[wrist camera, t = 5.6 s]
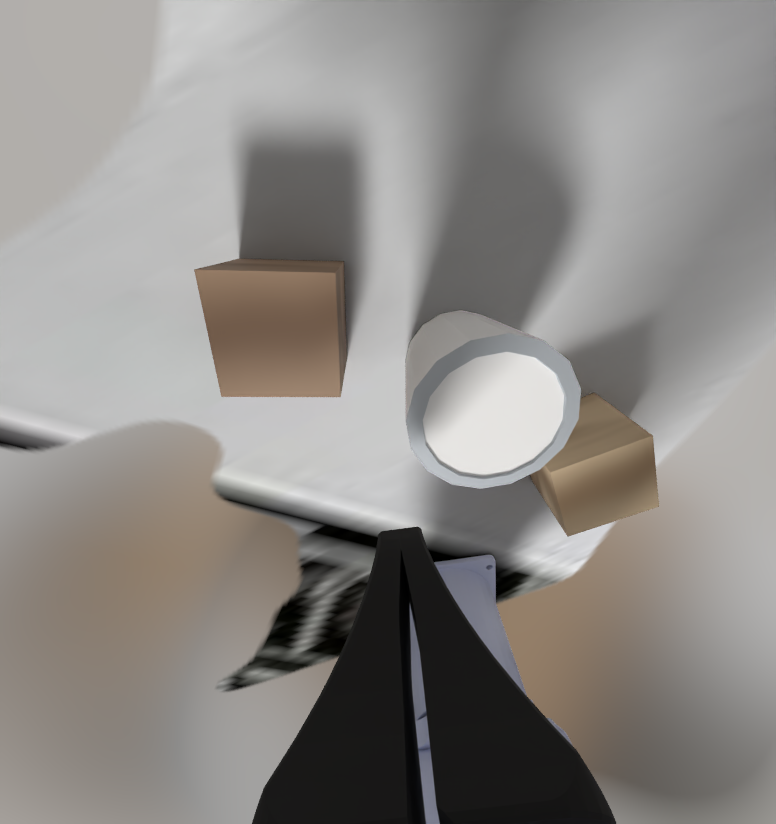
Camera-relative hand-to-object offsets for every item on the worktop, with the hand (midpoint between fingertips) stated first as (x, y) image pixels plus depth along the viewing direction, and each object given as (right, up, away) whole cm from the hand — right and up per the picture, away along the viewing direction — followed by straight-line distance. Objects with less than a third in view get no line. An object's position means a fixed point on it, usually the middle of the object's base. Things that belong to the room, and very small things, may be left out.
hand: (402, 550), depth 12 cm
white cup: (+3, +8, +8) cm, 12 cm away
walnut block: (-5, +10, +6) cm, 13 cm away
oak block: (+11, +3, +11) cm, 15 cm away
